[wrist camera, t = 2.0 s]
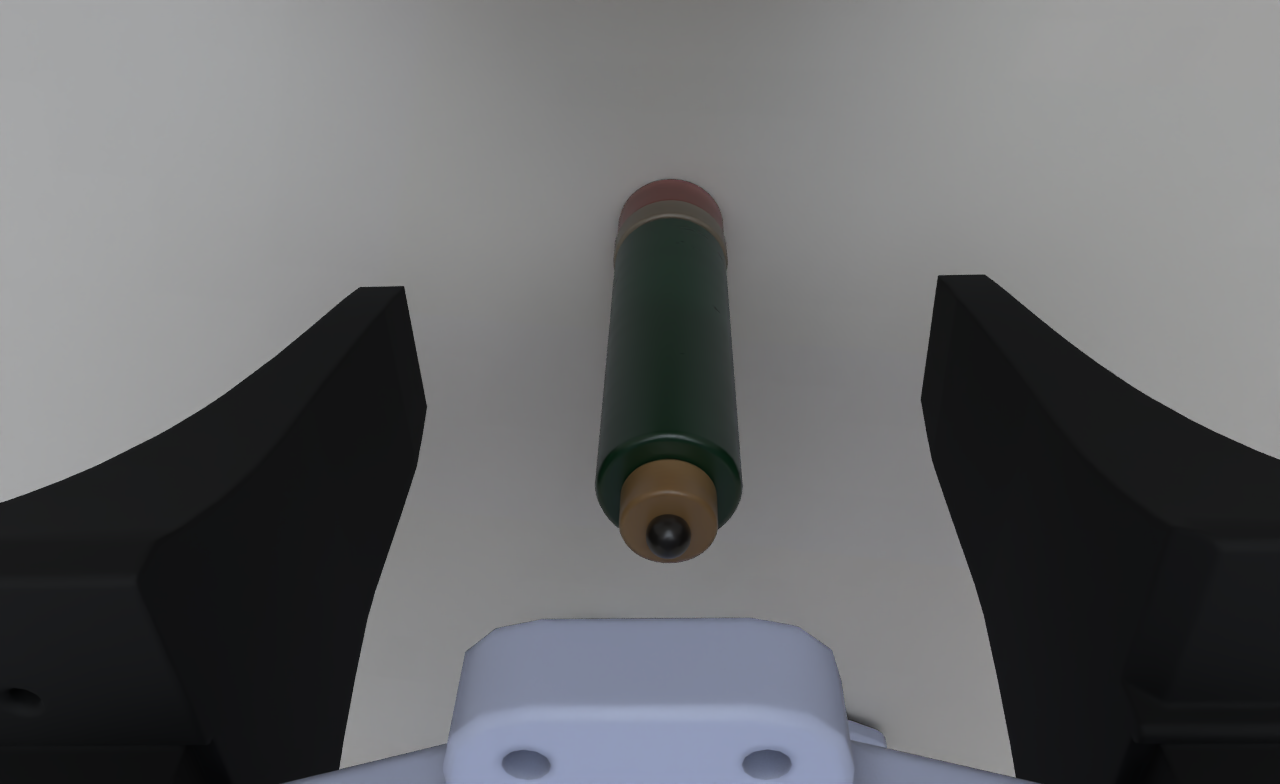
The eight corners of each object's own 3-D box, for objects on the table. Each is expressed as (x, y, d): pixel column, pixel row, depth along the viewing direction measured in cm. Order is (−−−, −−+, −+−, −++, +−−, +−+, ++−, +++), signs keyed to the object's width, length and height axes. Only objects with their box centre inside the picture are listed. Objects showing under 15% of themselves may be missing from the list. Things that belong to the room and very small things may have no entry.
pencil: (692, 288, 19) (700, 627, 13) (599, 246, 18) (559, 575, 12) (744, 204, 18) (780, 527, 12) (647, 158, 17) (632, 466, 11)
